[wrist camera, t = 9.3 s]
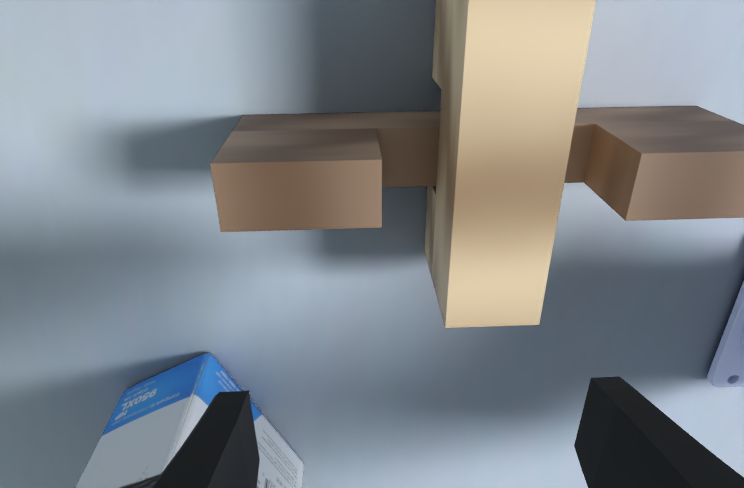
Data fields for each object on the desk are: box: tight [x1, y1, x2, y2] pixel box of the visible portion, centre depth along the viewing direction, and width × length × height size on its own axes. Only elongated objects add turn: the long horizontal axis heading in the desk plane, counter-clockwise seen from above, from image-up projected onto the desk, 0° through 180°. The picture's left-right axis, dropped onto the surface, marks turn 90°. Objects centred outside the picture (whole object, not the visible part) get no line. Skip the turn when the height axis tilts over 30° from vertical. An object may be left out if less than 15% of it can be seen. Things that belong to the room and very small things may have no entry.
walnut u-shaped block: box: [210, 106, 744, 232], centre depth 17 cm, size 16×2×5 cm, turn 91°
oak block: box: [425, 0, 596, 328], centre depth 16 cm, size 10×3×5 cm, turn 1°
